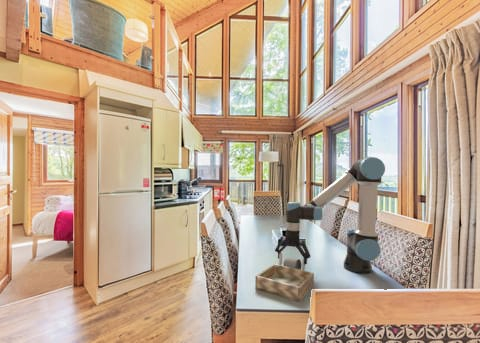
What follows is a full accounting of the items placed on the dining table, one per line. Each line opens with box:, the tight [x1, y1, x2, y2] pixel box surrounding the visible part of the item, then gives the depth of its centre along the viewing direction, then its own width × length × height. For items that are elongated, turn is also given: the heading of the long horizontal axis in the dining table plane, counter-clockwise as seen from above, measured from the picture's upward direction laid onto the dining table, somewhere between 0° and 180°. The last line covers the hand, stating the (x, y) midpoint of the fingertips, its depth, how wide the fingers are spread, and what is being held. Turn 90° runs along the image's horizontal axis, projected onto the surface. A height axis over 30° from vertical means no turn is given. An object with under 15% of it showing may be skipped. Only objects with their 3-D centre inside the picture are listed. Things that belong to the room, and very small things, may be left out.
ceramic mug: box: [283, 257, 302, 270], centre depth 140 cm, size 11×8×8 cm
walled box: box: [254, 263, 315, 303], centre depth 122 cm, size 22×20×6 cm
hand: (291, 267), depth 141 cm, fingers open, 13 cm apart
